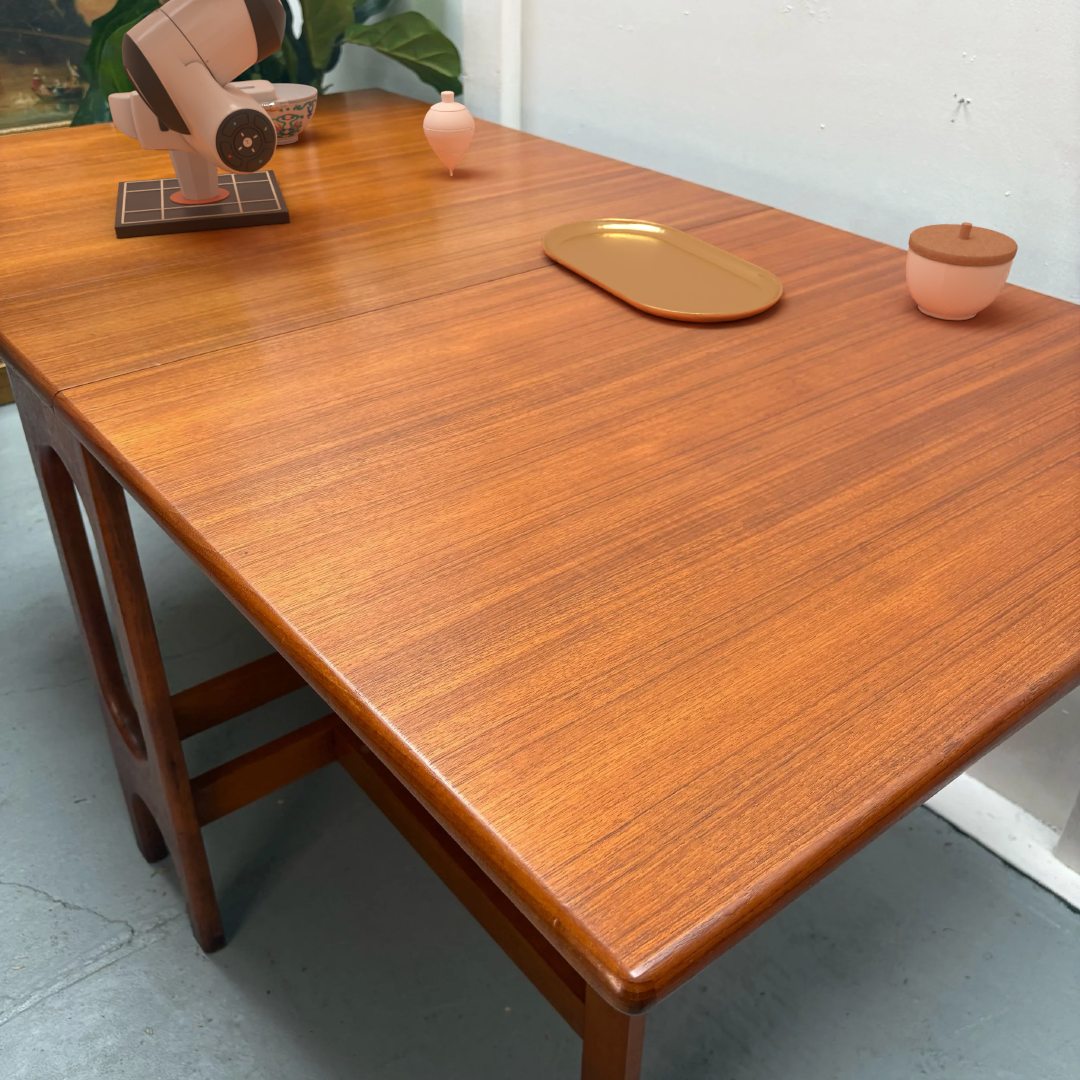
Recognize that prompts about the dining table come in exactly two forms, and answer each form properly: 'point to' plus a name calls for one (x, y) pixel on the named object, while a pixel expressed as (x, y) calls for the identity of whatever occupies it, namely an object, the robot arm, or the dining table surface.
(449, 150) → the spinning top
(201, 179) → the faceted bottle
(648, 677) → the dining table surface
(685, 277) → the serving platter
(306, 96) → the chinaware
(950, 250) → the trinket box
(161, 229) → the grid board
